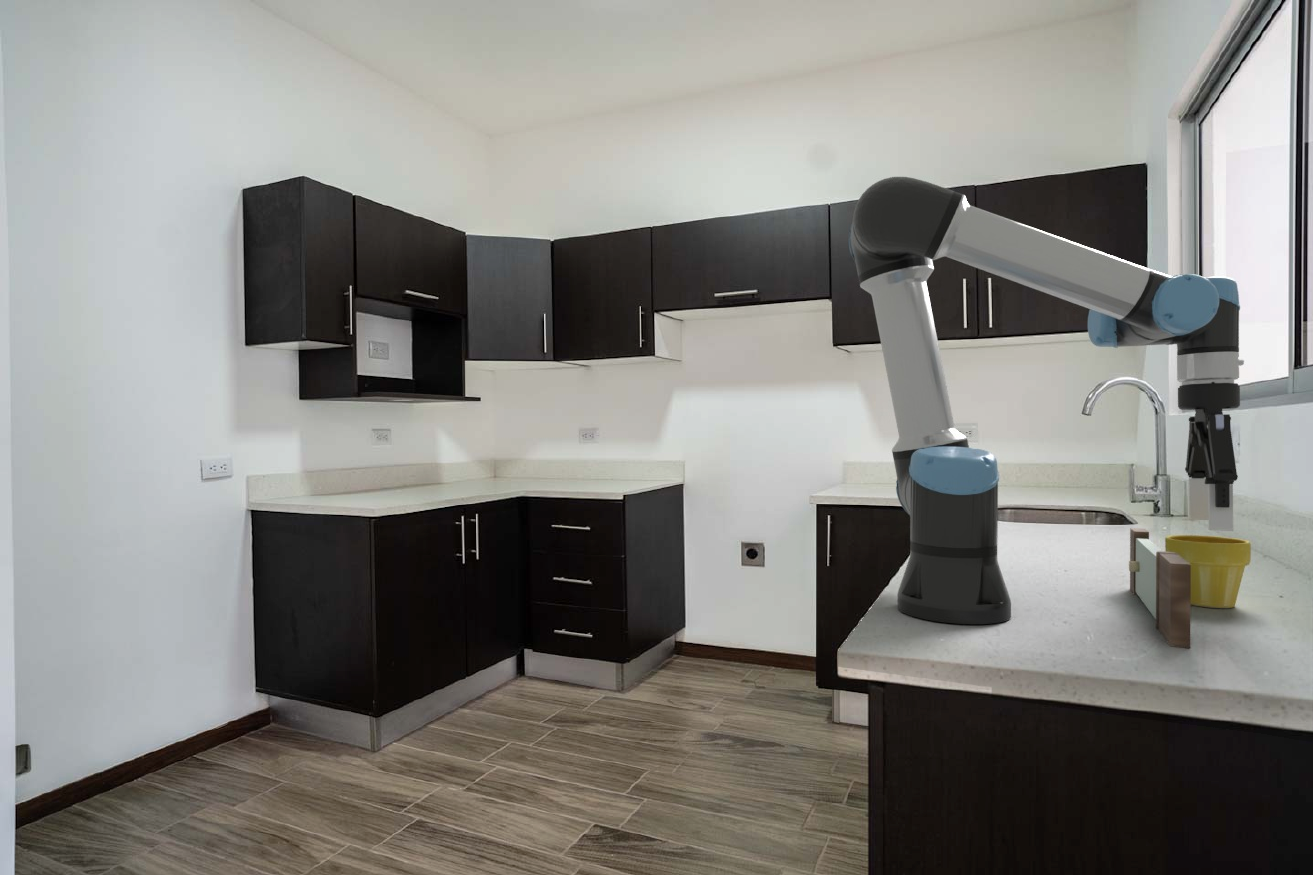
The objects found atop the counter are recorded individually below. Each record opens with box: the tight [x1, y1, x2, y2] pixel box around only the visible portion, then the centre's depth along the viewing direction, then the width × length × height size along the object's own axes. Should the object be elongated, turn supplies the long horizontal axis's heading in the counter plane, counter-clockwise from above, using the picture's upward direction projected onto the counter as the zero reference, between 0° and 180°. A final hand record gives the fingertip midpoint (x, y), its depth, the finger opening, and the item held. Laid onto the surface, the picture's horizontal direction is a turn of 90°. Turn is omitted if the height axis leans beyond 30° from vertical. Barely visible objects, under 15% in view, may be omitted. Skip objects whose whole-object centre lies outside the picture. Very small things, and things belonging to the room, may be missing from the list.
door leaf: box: [1128, 538, 1163, 620], centre depth 110 cm, size 3×21×8 cm, turn 154°
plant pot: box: [1164, 534, 1252, 609], centre depth 114 cm, size 10×10×10 cm
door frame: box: [1129, 527, 1192, 649], centre depth 107 cm, size 2×36×10 cm, turn 155°
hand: (1209, 524), depth 113 cm, fingers open, 13 cm apart
